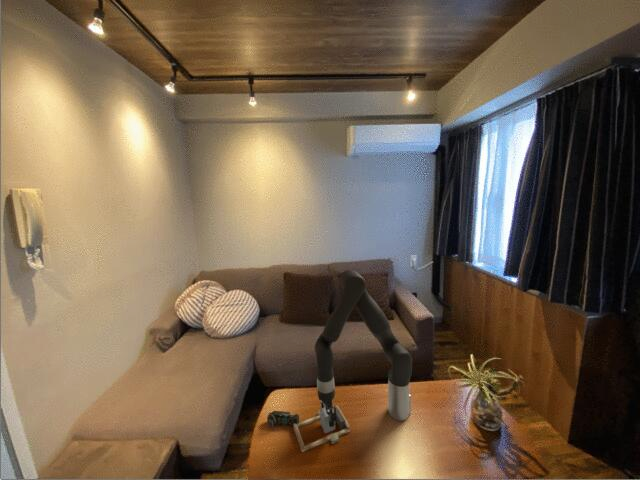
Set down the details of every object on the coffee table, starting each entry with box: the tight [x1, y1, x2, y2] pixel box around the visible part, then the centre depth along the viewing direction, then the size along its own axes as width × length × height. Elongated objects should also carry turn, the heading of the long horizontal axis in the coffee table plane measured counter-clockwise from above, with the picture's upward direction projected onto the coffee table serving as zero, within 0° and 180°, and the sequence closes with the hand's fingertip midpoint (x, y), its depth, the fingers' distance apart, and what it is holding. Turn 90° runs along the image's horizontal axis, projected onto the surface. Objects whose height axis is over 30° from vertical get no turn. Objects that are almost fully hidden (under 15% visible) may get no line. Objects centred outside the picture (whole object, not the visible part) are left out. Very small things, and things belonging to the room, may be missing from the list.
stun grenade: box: [267, 410, 300, 431], centre depth 114 cm, size 6×6×14 cm
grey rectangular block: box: [319, 407, 336, 434], centre depth 112 cm, size 5×5×8 cm
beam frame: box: [292, 405, 351, 453], centre depth 111 cm, size 22×16×4 cm
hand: (327, 418), depth 112 cm, fingers open, 8 cm apart
